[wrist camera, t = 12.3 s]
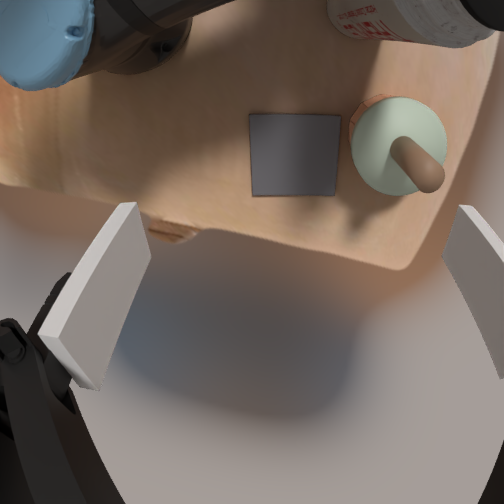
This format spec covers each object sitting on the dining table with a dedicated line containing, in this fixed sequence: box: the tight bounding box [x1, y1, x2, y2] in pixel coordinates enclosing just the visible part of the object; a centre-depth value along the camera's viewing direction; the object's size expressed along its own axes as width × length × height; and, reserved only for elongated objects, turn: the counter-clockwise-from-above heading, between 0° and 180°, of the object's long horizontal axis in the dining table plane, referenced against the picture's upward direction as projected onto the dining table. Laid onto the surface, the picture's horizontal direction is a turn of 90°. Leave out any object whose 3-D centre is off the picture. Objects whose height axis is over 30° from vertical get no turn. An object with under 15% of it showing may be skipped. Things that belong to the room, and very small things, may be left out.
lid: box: [351, 96, 447, 196], centre depth 32 cm, size 13×13×10 cm
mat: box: [249, 114, 341, 196], centre depth 42 cm, size 12×12×1 cm
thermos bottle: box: [327, 0, 504, 48], centre depth 18 cm, size 8×8×28 cm
